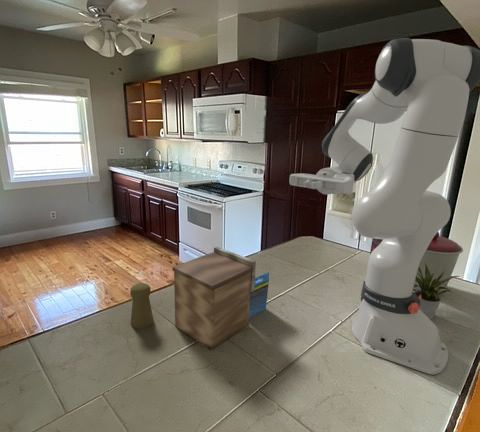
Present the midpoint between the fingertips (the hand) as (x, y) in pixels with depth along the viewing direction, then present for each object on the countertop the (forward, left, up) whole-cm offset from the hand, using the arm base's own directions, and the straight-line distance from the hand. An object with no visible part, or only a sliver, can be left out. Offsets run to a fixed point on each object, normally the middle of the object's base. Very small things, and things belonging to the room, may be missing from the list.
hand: (308, 185), depth 95 cm
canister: (-30, -35, -36) cm, 59 cm away
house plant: (-33, -15, -36) cm, 51 cm away
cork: (+22, +45, -36) cm, 62 cm away
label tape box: (+3, +20, -36) cm, 42 cm away
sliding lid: (+7, +33, -26) cm, 42 cm away
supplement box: (-13, -40, -36) cm, 55 cm away
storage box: (+7, +33, -36) cm, 49 cm away
